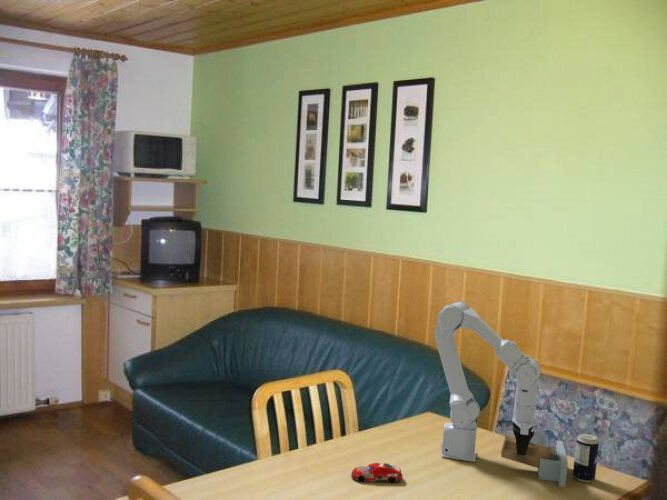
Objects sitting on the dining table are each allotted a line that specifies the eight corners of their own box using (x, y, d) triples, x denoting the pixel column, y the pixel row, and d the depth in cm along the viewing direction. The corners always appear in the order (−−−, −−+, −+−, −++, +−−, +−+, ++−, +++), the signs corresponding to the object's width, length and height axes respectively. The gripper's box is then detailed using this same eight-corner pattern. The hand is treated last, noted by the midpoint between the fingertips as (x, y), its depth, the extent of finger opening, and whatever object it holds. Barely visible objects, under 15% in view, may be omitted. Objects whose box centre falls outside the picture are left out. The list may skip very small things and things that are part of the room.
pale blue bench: (539, 483, 185) (542, 458, 184) (536, 461, 201) (538, 437, 200) (565, 487, 184) (567, 461, 183) (560, 465, 199) (562, 441, 199)
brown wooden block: (501, 456, 193) (505, 439, 192) (501, 451, 197) (505, 435, 196) (552, 472, 190) (557, 455, 189) (551, 467, 194) (556, 450, 193)
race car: (351, 483, 178) (352, 468, 178) (350, 474, 184) (351, 459, 183) (403, 485, 179) (404, 470, 179) (399, 476, 184) (401, 461, 184)
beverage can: (596, 484, 187) (600, 441, 186) (574, 481, 188) (578, 438, 187) (592, 476, 192) (597, 434, 191) (571, 473, 193) (575, 431, 192)
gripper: (542, 413, 184) (537, 463, 186) (538, 398, 198) (534, 444, 200) (514, 409, 186) (509, 459, 187) (513, 395, 200) (509, 441, 201)
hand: (520, 451), depth 193 cm, fingers closed on brown wooden block, 4 cm apart
